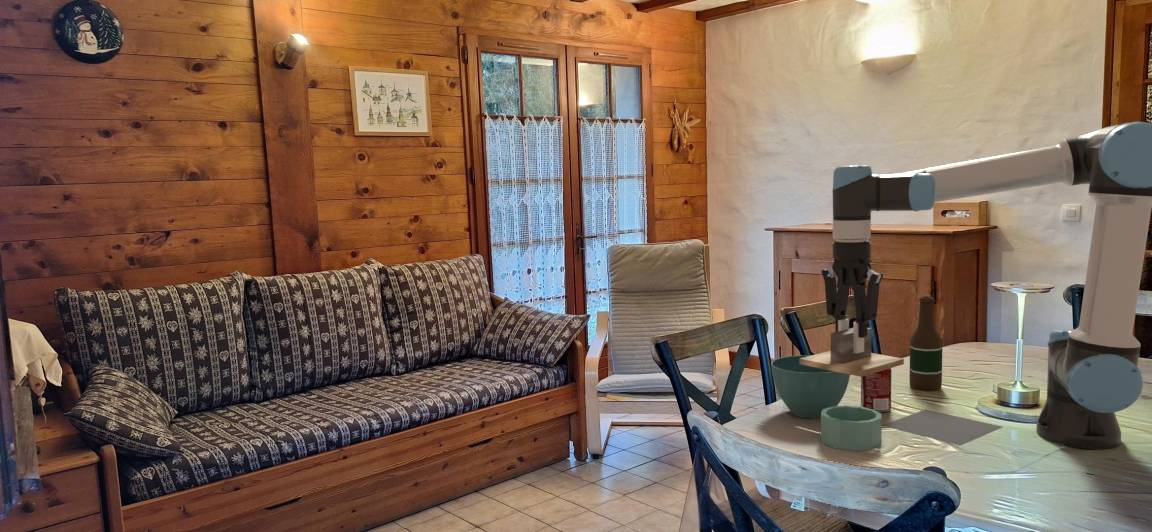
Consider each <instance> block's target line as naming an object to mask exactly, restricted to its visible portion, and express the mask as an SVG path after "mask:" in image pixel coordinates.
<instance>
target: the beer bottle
mask: <svg viewBox="0 0 1152 532" xmlns="http://www.w3.org/2000/svg"><path fill="white" fill-rule="evenodd" d="M935 301H936V300H935V298H934V297H932V296H920V297H919V299H918V302H919V311H918V312H919V313H918V322H917V327H916V328H915V330H914V331H913V332H912V335H911V337H910V341H909V387H911V388H912V389H913V390H917V391H924V392H933V391H934V392H935V391H938V390H940V389H941V388H942V384H943V383H942V382H943V340H942V337H941V334H940V332H939V331H938V329H937V328H936V325H935V309H934V308H935V307H934V305H935V304H934V303H935Z"/></svg>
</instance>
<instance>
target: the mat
mask: <svg viewBox="0 0 1152 532" xmlns="http://www.w3.org/2000/svg"><path fill="white" fill-rule="evenodd" d="M882 427H885V428H890V429H895V430H897V431H902V432H906V433H910V434H913V435H917V436H918V435H919V436H921V437H926V438H929V439H934V440H938V441H941V442H945V443H949V444H954V445H956V446H963V445H964V444H967V443H969V442H972V441H975V440H976V439H978V438H981V437H983V436H985V435H987V434H990V433H992V432H995V431H997V430H998V429H999V430H1000V429H1001V428H1003V426H1002V425H997V424H994V423H993V424H992V423H988V422H984V421H979V420H975V419H970V418H966V417H961V416H957V415H952V414H948V413H944V412H939V411H934V410H931V409H922V410H920V411H916V412H915V413H912V414H909V415H907V416H904V417H901V418H898V419H896V420H893V421H890V422H888V423H885V424H882Z"/></svg>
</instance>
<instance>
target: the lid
mask: <svg viewBox="0 0 1152 532" xmlns="http://www.w3.org/2000/svg"><path fill="white" fill-rule="evenodd" d="M872 329H873V328H872V327H867V337H864V352H861V353H857V354H856V353H853V327H851V328H849V329H846V330H842V331H838V332H835V331H832V332H830V350H828V351H824V352H819V353H816V354H815V353H814V354H812V355H808V357H804V358H800V359H799V364H802V365H806V366H811V367H816V368H821V369H826V370H831V371H835V372H840V373H845V374H850V376H856V377H860V378H861V377H862V376H866V375H869V374H872V373H876V372H879V371H883V370H886V369H889V368H891V369H892V368H896V367H899V366H903V365H904V364H905V361H904V360H905V359H904V358H903V357H895V356H890V355H886V354H879V353H875V352H874V353H873V352H872V331H873V330H872Z"/></svg>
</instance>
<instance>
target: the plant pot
mask: <svg viewBox="0 0 1152 532" xmlns="http://www.w3.org/2000/svg"><path fill="white" fill-rule="evenodd" d="M808 356H809V354H808V355H807V354H806V355H790V356H783V357H782V356H781V357H779V358H775V359H774V360H772V361H771V362H770V366H771V374H772V379H773V383H774V385H775V389H776V391H777V393H778V395H779V397H780V399H781V400H782V402H783V403H784V404H785V406H786V407H787V408H788V410H789V411H790V413H792V414H793V415H794V416H796V417H799V418H803V419H816V418H817V419H819V418H821V412H822V409H825V408H829V407H831V406H839V404H840V402H841V401H842V399H843V398H844V396H845V393H846V391H847V389H848V386H849V382H850V377H851V375H850V374H845V373H840V372H835V371H831V370H826V369H821V368H816V367H811V366H806V365H802V364H799V359H800V358H804V357H808Z"/></svg>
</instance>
